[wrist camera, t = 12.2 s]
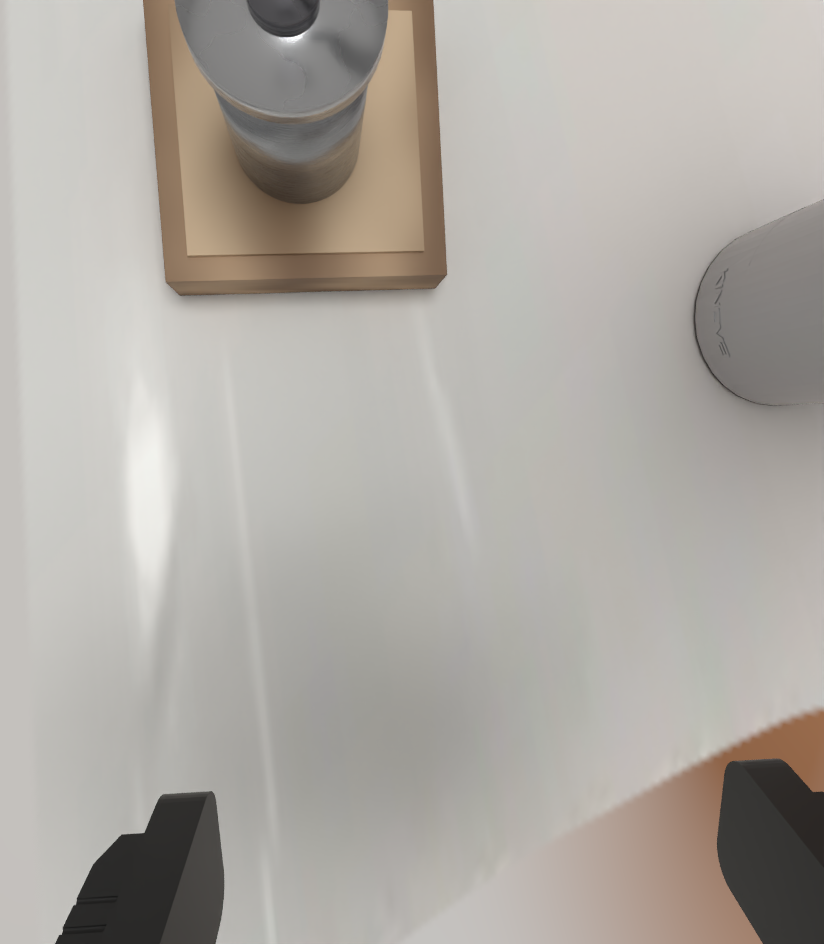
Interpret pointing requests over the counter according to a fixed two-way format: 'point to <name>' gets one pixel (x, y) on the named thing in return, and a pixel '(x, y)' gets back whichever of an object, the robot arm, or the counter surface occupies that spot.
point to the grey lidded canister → (289, 84)
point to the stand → (313, 224)
